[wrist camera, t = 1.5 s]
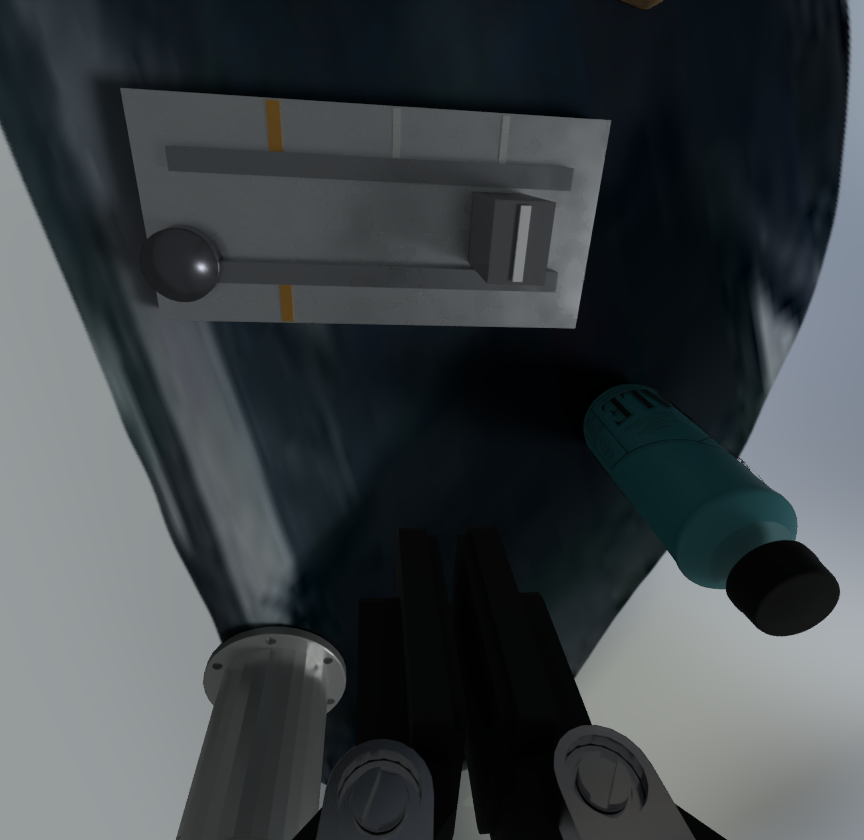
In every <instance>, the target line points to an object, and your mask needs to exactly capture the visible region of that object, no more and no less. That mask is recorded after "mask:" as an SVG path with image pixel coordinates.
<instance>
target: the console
mask: <svg viewBox="0 0 864 840" xmlns="http://www.w3.org/2000/svg"><path fill="white" fill-rule="evenodd" d="M120 90H121V96H122V101H123V107H124V112H125V118H126V124H127V129H128V135H129V141H130V146H131V152H132V157H133V163H134V169H135V174H136V180H137V186H138V191H139V197H140V203H141V208H142V214H143V219H144V225H145V231H146V236H147V240H146V241H145V243H144V245H143V247H142V250H141V255H140V263H141V268H142V271H143V274H144V276H145V278H146V280H147V281H148V283H149V284H150V285H151V286H152V288H153V289H155V290H156V293H157V298H158V304H159V310H160V315H161V320H188V321H238V322H288V323H338V324H388V325H438V326H488V327H537V328H575V326H576V320H577V315H578V309H579V303H580V297H581V291H582V286H583V280H584V274H585V268H586V263H587V257H588V251H589V245H590V240H591V234H592V228H593V222H594V217H595V211H596V205H597V199H598V194H599V188H600V182H601V176H602V171H603V165H604V159H605V153H606V148H607V142H608V136H609V130H610V125H611V120H597V119H582V118H566V117H551V116H536V115H521V114H506V113H491V112H476V111H461V110H446V109H431V108H416V107H401V106H385V105H370V104H355V103H340V102H325V101H310V100H295V99H280V98H265V97H250V96H235V95H220V94H205V93H189V92H174V91H159V90H144V89H129V88H120ZM474 191H475V192H495V193H515V194H527V195H530V196H534V197H538V198H542V199H545V200H549V201H553V202H556V208H555V215H554V222H553V229H552V236H551V243H550V250H549V257H548V264H547V271H546V278H545V285H544V286H534V285H500V284H487V283H486V282H485V281H484V280H483V279H482V278H481V276H480V275H479V274H478V273H477V272H476V271H475V270H474V269H473V267H472V266H471V265H470V264H469V263H468V260H469V247H470V234H471V221H472V208H473V196H474Z"/></svg>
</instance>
